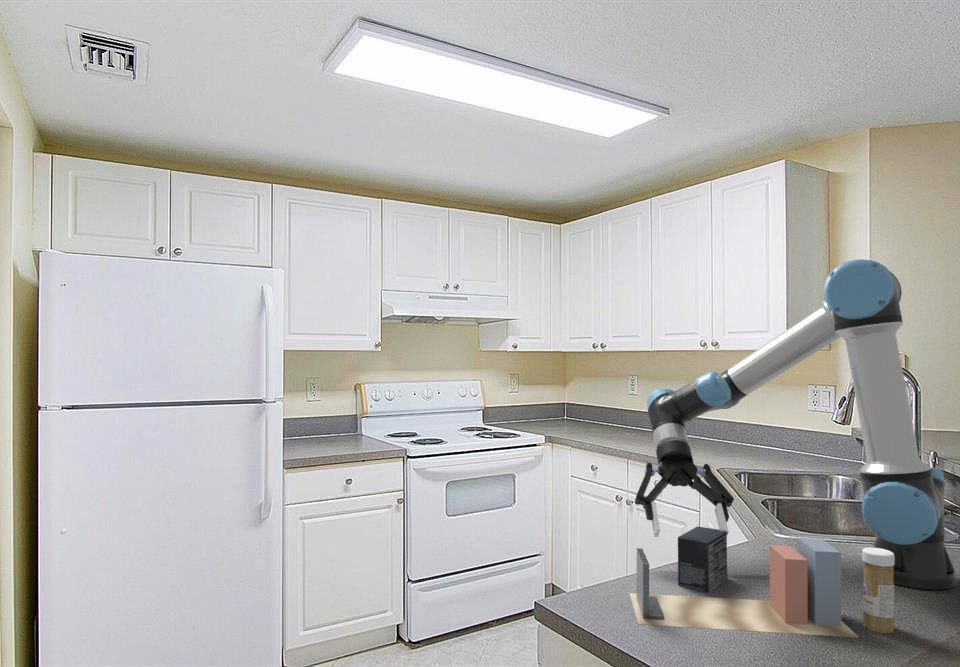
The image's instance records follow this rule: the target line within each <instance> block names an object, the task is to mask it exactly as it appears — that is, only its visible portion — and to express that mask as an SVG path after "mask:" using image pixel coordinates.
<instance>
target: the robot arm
mask: <svg viewBox="0 0 960 667" xmlns="http://www.w3.org/2000/svg"><path fill="white" fill-rule="evenodd" d="M902 294H903V293H902V286H901V283H900V281H899V279H898V278H897V276H896V275H895V274H894V273H893V272H892V271H890V270H889V269H888V268H887V267H886V266H885V265H883V264H882V263H881V262H878V261H875V260H871V259H862V258H861V259H853V260H849V261H845V262H843V263H841V264H840V265H839V264H838V266H837V267H835V268H834V269H833V270H832V271H831V272H830V273H829V275H828V276H827V278H826V279H825V282H824V286H823V296H824V299H822V305H821V307H819V308H818V309H816V310H815V311H814V312H812V313H810V314H809V315H808V316H806V317H804V318H803V319H802V320H800V321H798V322H797V323H795V324H794V325H793V326H790V327H789V328H788V329H786V330H785V331H783V332H782V333H781V334H779V335H777V336H775V337H774V338H773V339H771V340H769V341H768V342H767V343H765V344H764V345H762V346H761V347H759V348H757V349H756V350H755V351H754V352H752V353H750V354H749V355H747V356H746V357H744V358H743V359H742V360H740V361H738V362H737V363H735V364H734V365H732V366H730V367H729V368H728V369H727V370H725V371H723V372H722V373H720V374H719V373H718V372H717V371H710V372H708V373H705V374H704V375H699V376H698V378H696V379H695V380H692V381H691V382H689V383H688V384H686V385H684V386H682V387H680V388H679V389H677V390H675V391H674V390H672V389H671V388H667V387H664V388H662V389H655V390H653V391H652V392H651V393H649V395H648V397H647V399H646V403H647V415H648V417H649V421H650V422H649V423H650V427H651V433H652V438H653V443H654V448H655V453H656V454H655V455H656V459H657V464H658V465H653V464H652V463H651V462H647V463H646V466H645V469H644V477H643V480H642V481H641V483H640V486H639V488H638V491H637V494H636V496H635V500H634V504H635V506H636V505H638V506H639V505H642V507H643V508H642V509H643V510H644V512H645V518H646V520H647V521H651V526H652V531H653V537H655V538H658V537H659V535H660V532H661V526H660V521H659V516H658V510H657V505H656V501H655V500H656V499H657V498H658V496H659V495H661V493H662V491H663V490H664V489H666V488H667V486H668V485H671V486H672V487H687V486H688V487H690V488H691V489H692V490H696V492H698V493H699V494H700V495H701V496H702V497H704V499H706V500H707V501H709V502H710V503H711V504H712V505H714V507H715V508H714V513H715V517H716V521H717V525H718V530H725V531H727V535H728V534H729V532H730V531H729V527H728V521H729V518H730V515H729V511H728V508H731V507H732V505H733V502H734V500H735V498H734V496H733V495H732V494H731V493H730V492H729V491H728V490H727V487H725V486H724V484H723V483H722V482H721V481H720V480H719V479H718V478H717V476H716V475H715V473H713V471H712V469H711V466H710V465H709V464H708V463H705V464H703V466H696V465H695V463H694V458H693V455H692V450H691V446H690V442H689V438H688V433H687V429H686V423H688V422H690V421H692V420H694V419H696V418H697V417H700V416H702V415H704V414H705V413H708V412H712V411H717V410H729V409H731V408H732V407H734V406H736V405H738V404H739V403H740V401H741V400H743V399H744V398H745V397H746V396H749V395H751V393H753V392H755V391H756V390H758V389H759V388H761V387H763V386H764V385H765V384H767V383H770V382H771V381H773V380H774V379H775V378H777V377H778V376H780V375H782V374H783V373H785V372H787V371H788V370H790V369H792V367H794V366H796V365H798V364H800V363H801V362H803V361H804V360H807V358H809V357H810V356H813V355H814V354H815V353H817V352H819V351H820V350H822V349H823V348H825V347H827V346H828V345H830V344H832V343H833V342H834V341H836V340H838V339H840V338H842V340H844V342H845V347H846V351H847V357H848V361H849V362H848V363H849V369H850V375H851V379H852V386H853V391H854V396H855V402H856V407H857V413H858V418H859V425H860V429H861V430H860V431H861V436H862V441H863V446H864V452H865V453H864V454H865V458H866V462H864V464H863V466H862V467H861V468H860V469H859V474H860V479H861V480H860V481H861V485H862V492H863V498H862V501H861V513H862V517H863V519H864V522H865V524H866V525H867V526H868V528H869V529H870V530H871V531H872V532H873V533H875V535H876V538H875V539H874V542H873V545H872V547H873V548H881V549H885V550H889V551H891V552H893V553H894V556H895V565H894V568H893V574H894V575H893V577H894V578H893V579H894V580H893V581H894V585H899V586H903V587H908V588H912V589H913V588H914V589H921V590H931V591H932V590H936V591H939V590H941V591H943V590H949V589H953V588H955V587H956V585H957V577H956V576H957V575H956V574H957V573H956V571H955V568H954V566H953V562H952V561H951V558H950V555H949V551H948V550H947V547H946V543H945V541H946V539H945V486H946V481H945V477H944V473H943V471H942V470H941V469H940V468H937V467H931V466H930V465H929V464H927V463H926V462H924V461H923V460H922V459H920V457H919V450H918V446H917V440H916V435H915V431H914V430H915V429H914V423H913V419H912V413H911V410H910V409H911V408H910V405H909V404H910V403H909V398H908V394H907V393H908V392H907V387H906V383H905V376H904V372H903V366H902V362H901V357H900V356H901V354H900V351H899V345H898V344H899V343H898V340H897V336H896V334H897V332H898V330H899V329H900V328H901V326H903V325H904V321H903V318H902V317H903V316H902V311H901V305H900V302H901V299H902ZM656 473H657V474H658V475H659V476H660V477H661V478H660V480H658V482H657V483H656V485H655V486H654V487H653V488H652V490H650V492H649V493H648V495H647V496H644V495H645V493H646V492H647V489H648V487H649V484H650V481H651V478H652V477H653V476H655V475H656ZM698 474H699V475H700V476H699V475H698ZM701 478H703V480H704V481H703V480H702V479H701Z"/></svg>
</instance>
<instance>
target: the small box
mask: <svg viewBox="0 0 960 667" xmlns="http://www.w3.org/2000/svg"><path fill="white" fill-rule="evenodd" d="M727 536H728V534H727V531H725V530H720V529H719V528H718V529H717V528H711V527H705V526H704V527H703V526H697V525H696V527H694V528H692V529H690V530H688V531H687V532H685V533H683V534H681V535H679V536H677V585H678V586H679V587H683V588H687V589H691V590H695V591H700V592H703V593H711V592H712V591H714V590H715V589H716V588H718V587H719V586H721V585H722V584H723V583H725V582H726V581H727V580H728V578H729V577H728V576H729V575H728V540H727Z"/></svg>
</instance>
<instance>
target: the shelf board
mask: <svg viewBox="0 0 960 667" xmlns="http://www.w3.org/2000/svg"><path fill="white" fill-rule="evenodd" d="M628 594H629V597H630V600H631V604H632V606H633V610H634V613H635V617H636V621H637V623H638V625H641V626H655V627H656V626H659V627H673V628H674V627H675V628H690V629H691V628H692V629H693V628H694V629H709V630H726V631H740V632H741V631H743V632H757V633H758V632H760V633H774V634H775V633H776V634H794V635H808V636H809V635H810V636H827V637H842V638H843V637H845V638H859V635H858V634H856V633H855V632H854V631H853V630H852V629H851V628H850V627H848V625H847V624H845V623H844V622H843V621H842V620H841V626H827V625H815V624H814V623H813V622H812V621H811V620H810V618H809V617H808V624H792V623H785V622H784V621H783V620H782V619H781V617H780V616H779V615H778V614H777V613H776V612H775V610H774V609H773V608H772V607H771V606H770V600H767V599H766V600H765V599H764V600H763V599H745V598H742V599H741V598H729V597H728V598H726V597H710V596H709V597H708V596H707V597H706V596H692V595H691V596H690V595H689V596H688V595H673V594H672V595H671V594H653V593H651V594H650V593H649V596H652V597H657V600H658V602H659V605H660V607H661V609H662V612H663V614H664V620H661V619H644V618H643V617H642V614H641V611H640V608H639V605H638V602H637V599H636V593H634V592H631V593H630V592H629V593H628Z"/></svg>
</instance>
